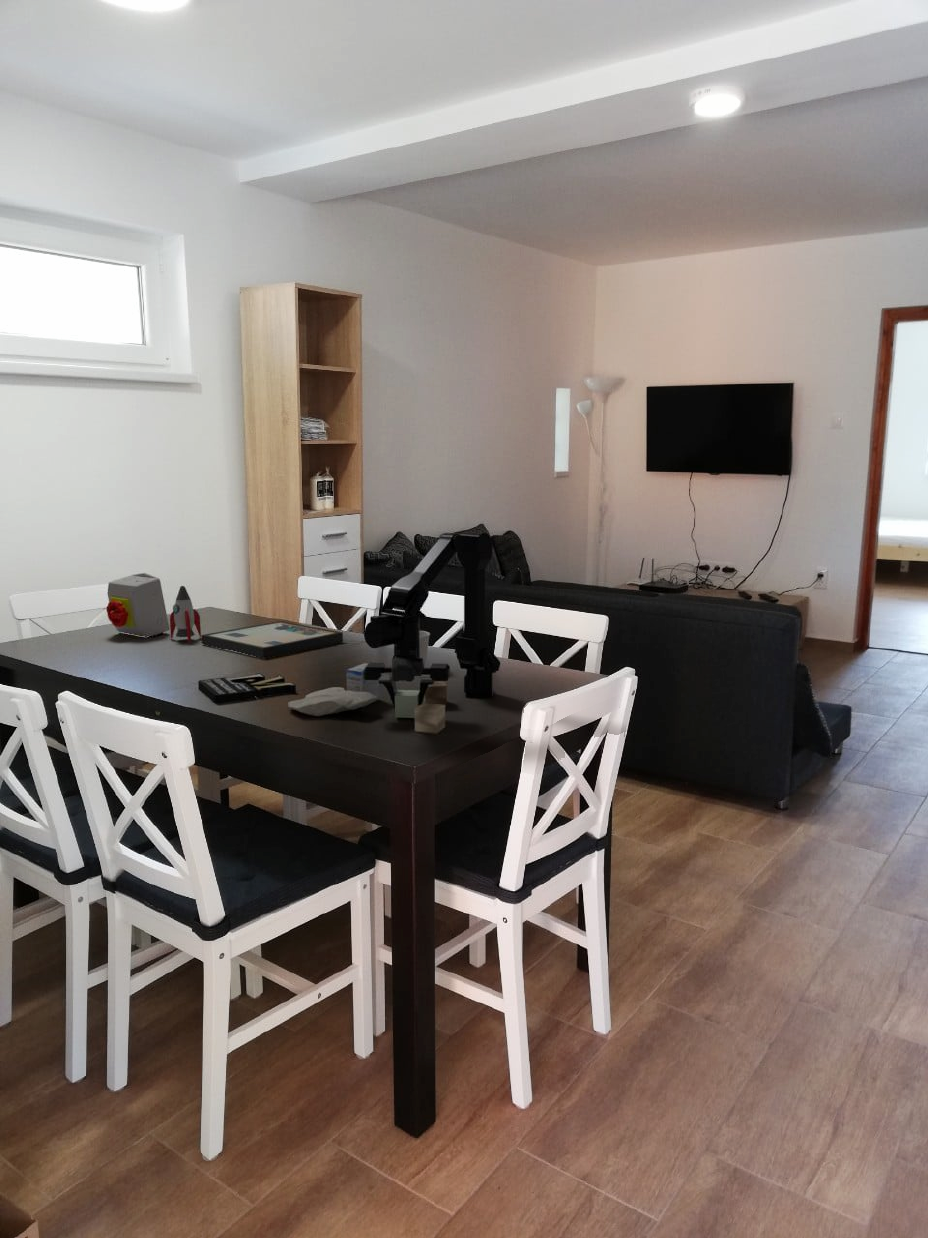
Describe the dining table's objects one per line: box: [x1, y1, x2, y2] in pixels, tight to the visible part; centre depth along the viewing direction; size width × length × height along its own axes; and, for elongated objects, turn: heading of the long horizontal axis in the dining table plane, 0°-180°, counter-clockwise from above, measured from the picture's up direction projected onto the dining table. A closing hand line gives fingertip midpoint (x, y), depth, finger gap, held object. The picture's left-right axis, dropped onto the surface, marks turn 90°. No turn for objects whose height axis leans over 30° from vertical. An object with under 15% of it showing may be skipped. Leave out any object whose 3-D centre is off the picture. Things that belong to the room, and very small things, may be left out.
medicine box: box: [346, 662, 381, 708], centre depth 222 cm, size 8×4×9 cm, turn 154°
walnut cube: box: [423, 681, 448, 707], centre depth 221 cm, size 5×5×5 cm
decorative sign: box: [197, 672, 297, 705], centre depth 233 cm, size 17×2×20 cm
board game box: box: [201, 620, 344, 659], centre depth 289 cm, size 30×4×30 cm
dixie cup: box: [419, 630, 431, 668], centre depth 254 cm, size 8×8×10 cm
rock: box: [287, 686, 377, 717], centre depth 215 cm, size 21×5×15 cm
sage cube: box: [394, 689, 420, 719], centre depth 210 cm, size 5×5×5 cm
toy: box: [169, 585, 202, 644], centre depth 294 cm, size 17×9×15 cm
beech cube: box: [414, 702, 446, 734], centre depth 201 cm, size 5×5×5 cm
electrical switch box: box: [106, 572, 170, 637], centre depth 300 cm, size 15×15×20 cm
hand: (407, 709), depth 210 cm, fingers closed on sage cube, 5 cm apart
